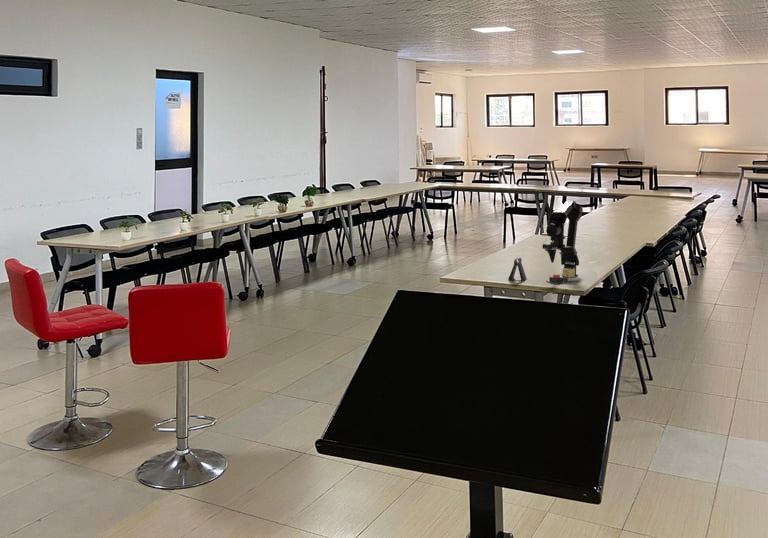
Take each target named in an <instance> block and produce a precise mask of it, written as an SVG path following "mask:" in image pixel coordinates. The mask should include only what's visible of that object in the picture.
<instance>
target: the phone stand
mask: <svg viewBox="0 0 768 538" xmlns="http://www.w3.org/2000/svg"><path fill="white" fill-rule="evenodd" d="M522 260H523V259H522V258H521V257H516V258H515V259H514V260H513V266H512V269H511V271H510V274H509V276H508V280H507V281H513V282H525V281H527V275H526V273H525V270H524V266H523V264H522ZM517 268H518V273H519V276H520V277H515V274H516V271H517Z"/></svg>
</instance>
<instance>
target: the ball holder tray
mask: <svg viewBox="0 0 768 538" xmlns="http://www.w3.org/2000/svg"><path fill="white" fill-rule="evenodd" d="M579 278H580V277H579V276H575V277H574V278H565V277H563V275H560V278H553V275H552V276H549V279H548V280H546V282H547V283H550V284H554V285H559V283H561V284H568V283H574V282H579V281H580V279H579Z"/></svg>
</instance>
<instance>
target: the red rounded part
mask: <svg viewBox="0 0 768 538" xmlns="http://www.w3.org/2000/svg"><path fill="white" fill-rule="evenodd" d="M552 276H553V278H560V276H561V274H559V273H553V274H552Z"/></svg>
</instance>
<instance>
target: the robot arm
mask: <svg viewBox="0 0 768 538" xmlns="http://www.w3.org/2000/svg"><path fill="white" fill-rule="evenodd" d="M583 212H584V210H583V207H582V205H581V204H579V203H578V202H576V201H575V200H565V202H564V204H563V205H562V206H561V207H560V208H559V209H554V210H553V211H552V213H550V218H549V221H548V225H550V226H548V227H547V228H546V231H545V232H546V235H547V236H548V237H550V239H548V240H546V241H545V242H543V244H542V249H544V251H545V252H547V253H548V256H549V259H550V263H554V261H555V258H556V253H557V250H558V251H559V255H560V261H561V262H560V265H561V266H562V265H563V268H573V269H575V276H576V277H579V275H578V274H577V266H579V265H580V260H579V256H578V251H577V250H576V248H575V247H576V238H577V233H578V232H577V231H578V224H579V223H578V222H579V221H580V220H581V218H582V215H583ZM567 219H568V226H567V227H568V229H567V238H566V236H565V235H564V234H565V224H566V222H567ZM565 239H566V243H565V241H564V240H565ZM564 243H565V244H564ZM561 276H563V273H561Z"/></svg>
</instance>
